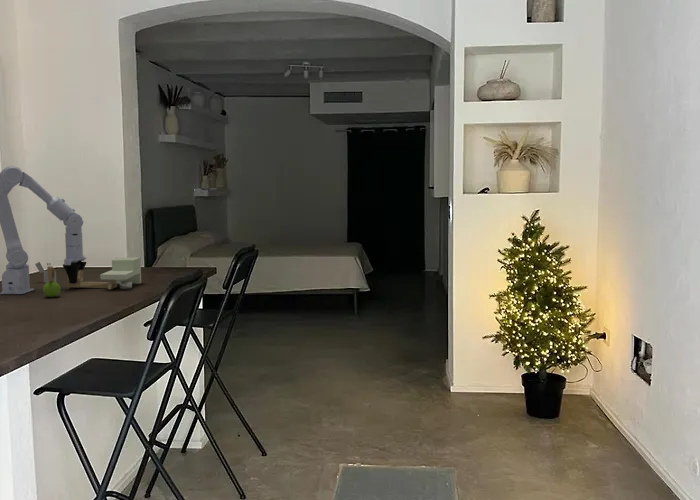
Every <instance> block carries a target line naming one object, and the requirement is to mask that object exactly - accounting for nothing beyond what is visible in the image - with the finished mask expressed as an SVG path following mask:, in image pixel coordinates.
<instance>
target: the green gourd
mask: <svg viewBox="0 0 700 500" xmlns="http://www.w3.org/2000/svg"><path fill="white" fill-rule="evenodd" d="M51 264H52V263H49V262H47V263H46V265H47V267H46V271H47V270H48V280H49V282H47V283H44V285H43V287H42V293H44V295H45V297H48V298H54V297H57V296H58V295H59V294H60V293H61V286H60V283H58V281H56V282H54V276H55V271H56V270H55V268H54V267H53V266H51Z"/></svg>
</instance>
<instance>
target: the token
mask: <svg viewBox="0 0 700 500" xmlns="http://www.w3.org/2000/svg"><path fill="white" fill-rule="evenodd" d="M118 285H119V289H120V290H130V289H133V284H132V281H120V282H119V284H118Z"/></svg>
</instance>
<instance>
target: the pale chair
mask: <svg viewBox="0 0 700 500" xmlns="http://www.w3.org/2000/svg"><path fill="white" fill-rule="evenodd" d="M141 258H142V257H120V256H119V257H115V259H111V270H108V271H105V272H103V273H101V274H100V277H99V278H100V280H115V281H116V282H117V285H120V284H119V282H120V281H132V285H133V284H136V285H137V284H142V265H141V264H142V262H141V261H142V259H141Z"/></svg>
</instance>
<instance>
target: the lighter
mask: <svg viewBox="0 0 700 500" xmlns="http://www.w3.org/2000/svg"><path fill="white" fill-rule="evenodd" d="M34 265H35V266H36V268H37V270H38V272H39V273H40V274H42V273H43V283H44V284H46V283H47V282H49V280H48V270H47V269H46V271H45V269H44V267H43V266H42V263H41V262H40V261H38V262H36V263H34ZM54 271H55V276H54V282H57V271H56V270H54Z"/></svg>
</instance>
